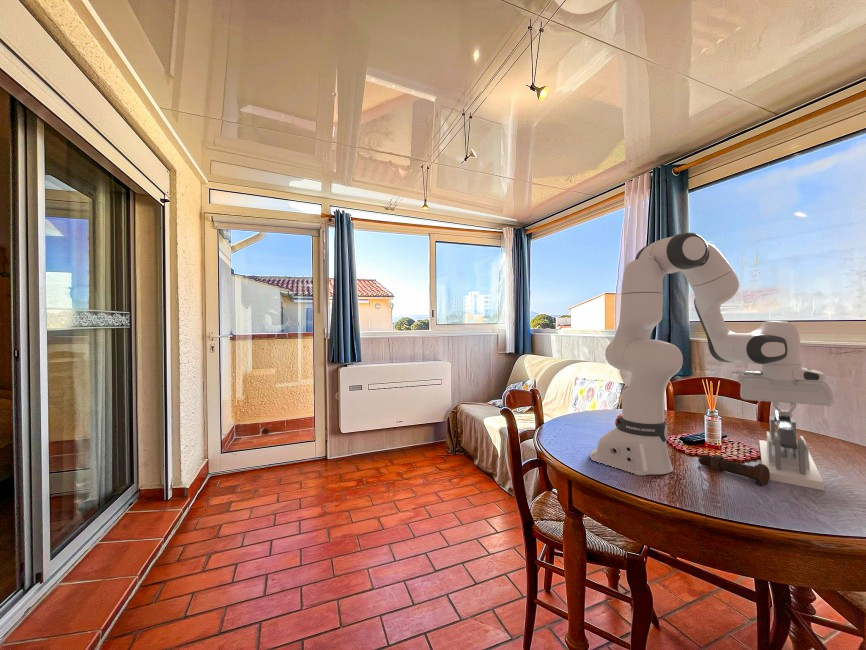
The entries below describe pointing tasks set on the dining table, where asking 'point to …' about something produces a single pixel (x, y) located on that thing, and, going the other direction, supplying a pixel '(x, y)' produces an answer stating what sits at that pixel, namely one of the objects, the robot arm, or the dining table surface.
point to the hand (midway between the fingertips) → (784, 416)
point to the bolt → (737, 468)
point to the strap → (786, 432)
